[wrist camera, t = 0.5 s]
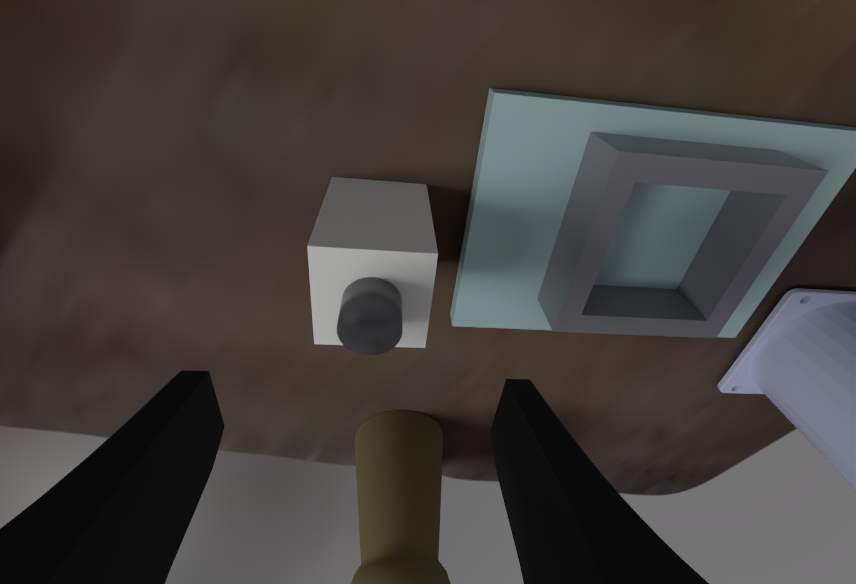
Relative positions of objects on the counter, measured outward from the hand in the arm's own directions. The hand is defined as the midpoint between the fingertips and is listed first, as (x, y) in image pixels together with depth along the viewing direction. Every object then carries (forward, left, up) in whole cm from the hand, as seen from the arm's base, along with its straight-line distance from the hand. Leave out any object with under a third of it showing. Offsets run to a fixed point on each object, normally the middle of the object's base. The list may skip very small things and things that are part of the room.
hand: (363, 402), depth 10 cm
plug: (0, 0, -10) cm, 10 cm away
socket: (-12, -1, -10) cm, 16 cm away
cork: (-2, +16, -10) cm, 19 cm away
